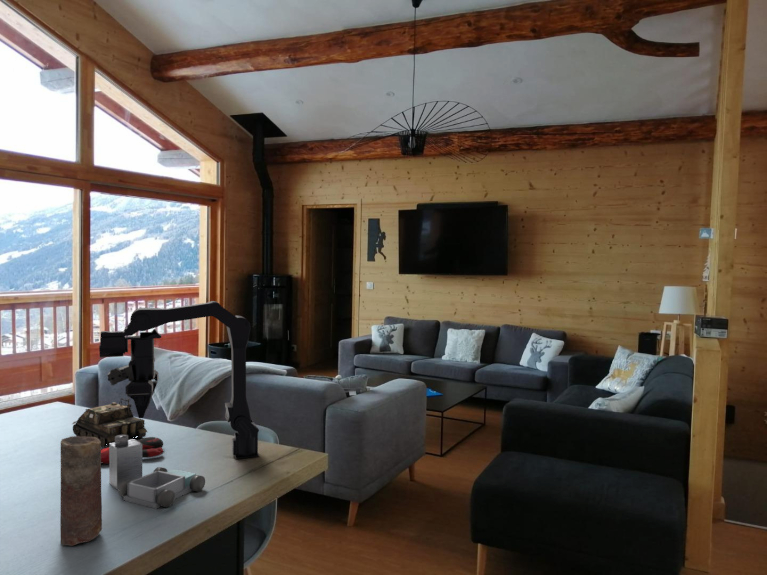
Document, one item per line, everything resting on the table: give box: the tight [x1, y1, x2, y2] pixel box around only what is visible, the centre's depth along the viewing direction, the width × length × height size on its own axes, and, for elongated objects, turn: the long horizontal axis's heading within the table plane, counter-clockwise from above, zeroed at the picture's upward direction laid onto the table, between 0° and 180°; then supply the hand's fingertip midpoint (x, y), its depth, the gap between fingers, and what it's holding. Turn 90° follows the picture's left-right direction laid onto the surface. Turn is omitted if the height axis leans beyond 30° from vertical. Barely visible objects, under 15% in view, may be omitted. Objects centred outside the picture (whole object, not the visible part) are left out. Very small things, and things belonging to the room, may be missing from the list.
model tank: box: [71, 393, 148, 448], centre depth 182 cm, size 13×22×15 cm, turn 55°
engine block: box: [108, 435, 143, 491], centre depth 145 cm, size 6×6×12 cm
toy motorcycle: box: [101, 436, 164, 465], centre depth 163 cm, size 25×5×16 cm
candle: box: [59, 435, 103, 547], centre depth 116 cm, size 8×7×20 cm
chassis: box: [118, 466, 206, 509], centre depth 139 cm, size 14×14×4 cm
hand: (143, 413), depth 157 cm, fingers open, 9 cm apart
